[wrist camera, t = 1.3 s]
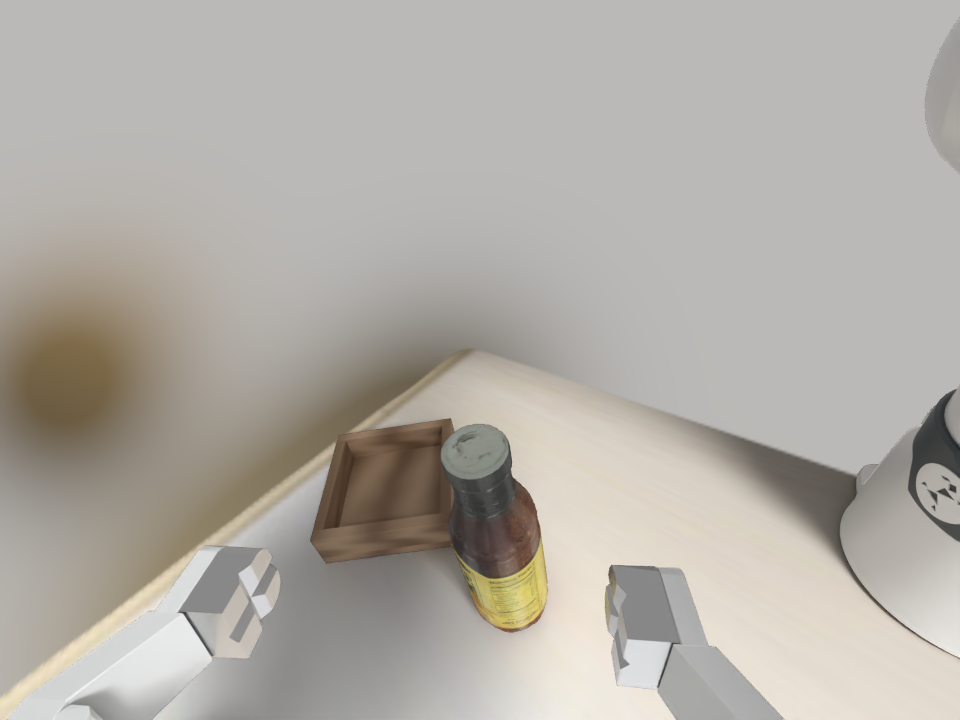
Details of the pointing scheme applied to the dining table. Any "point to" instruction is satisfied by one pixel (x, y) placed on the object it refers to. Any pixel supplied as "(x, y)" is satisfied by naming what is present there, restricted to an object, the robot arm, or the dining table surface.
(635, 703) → the dining table surface
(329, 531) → the brown wooden tray
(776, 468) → the dining table surface
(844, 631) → the dining table surface
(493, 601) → the sauce bottle
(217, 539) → the dining table surface
